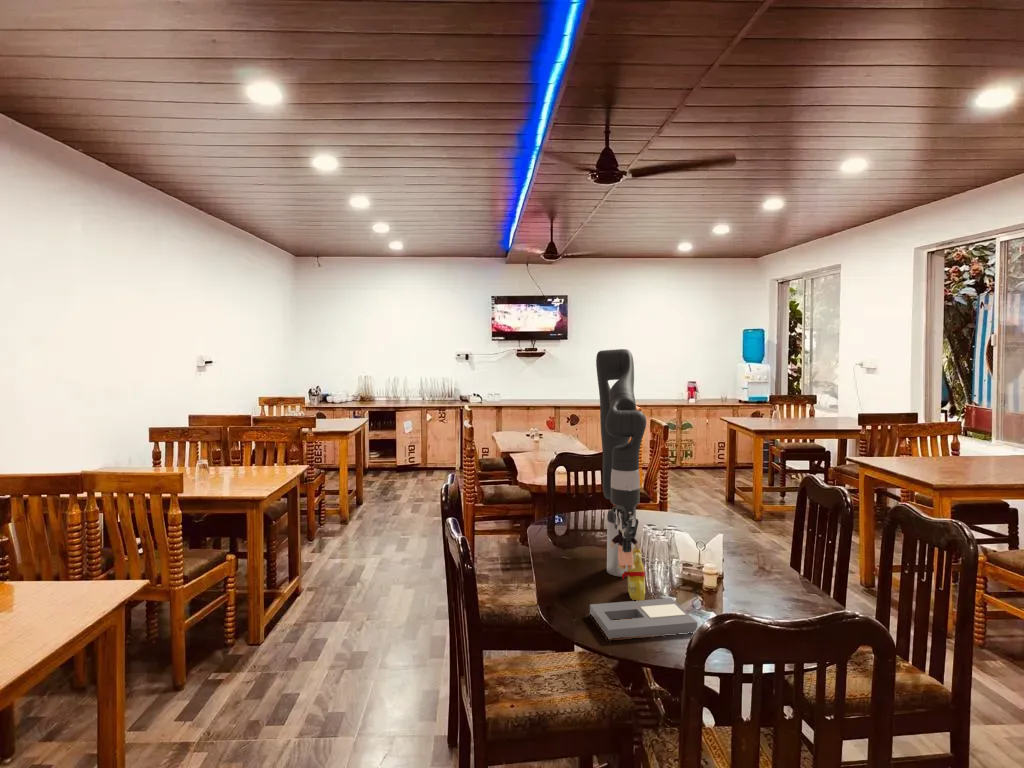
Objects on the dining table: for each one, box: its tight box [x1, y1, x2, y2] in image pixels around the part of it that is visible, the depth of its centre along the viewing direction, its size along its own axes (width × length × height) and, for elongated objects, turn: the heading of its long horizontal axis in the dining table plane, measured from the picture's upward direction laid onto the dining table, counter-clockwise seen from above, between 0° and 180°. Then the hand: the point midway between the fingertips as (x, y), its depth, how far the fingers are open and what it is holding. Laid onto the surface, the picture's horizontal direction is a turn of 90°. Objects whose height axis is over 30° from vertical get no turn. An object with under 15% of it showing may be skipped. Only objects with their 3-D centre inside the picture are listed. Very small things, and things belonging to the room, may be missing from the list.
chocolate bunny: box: [621, 547, 646, 601], centre depth 192 cm, size 7×11×15 cm, turn 175°
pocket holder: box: [589, 597, 698, 639], centre depth 172 cm, size 16×24×3 cm, turn 100°
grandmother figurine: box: [610, 524, 641, 569], centre depth 170 cm, size 8×4×13 cm, turn 92°
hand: (624, 549), depth 170 cm, fingers closed on grandmother figurine, 2 cm apart
